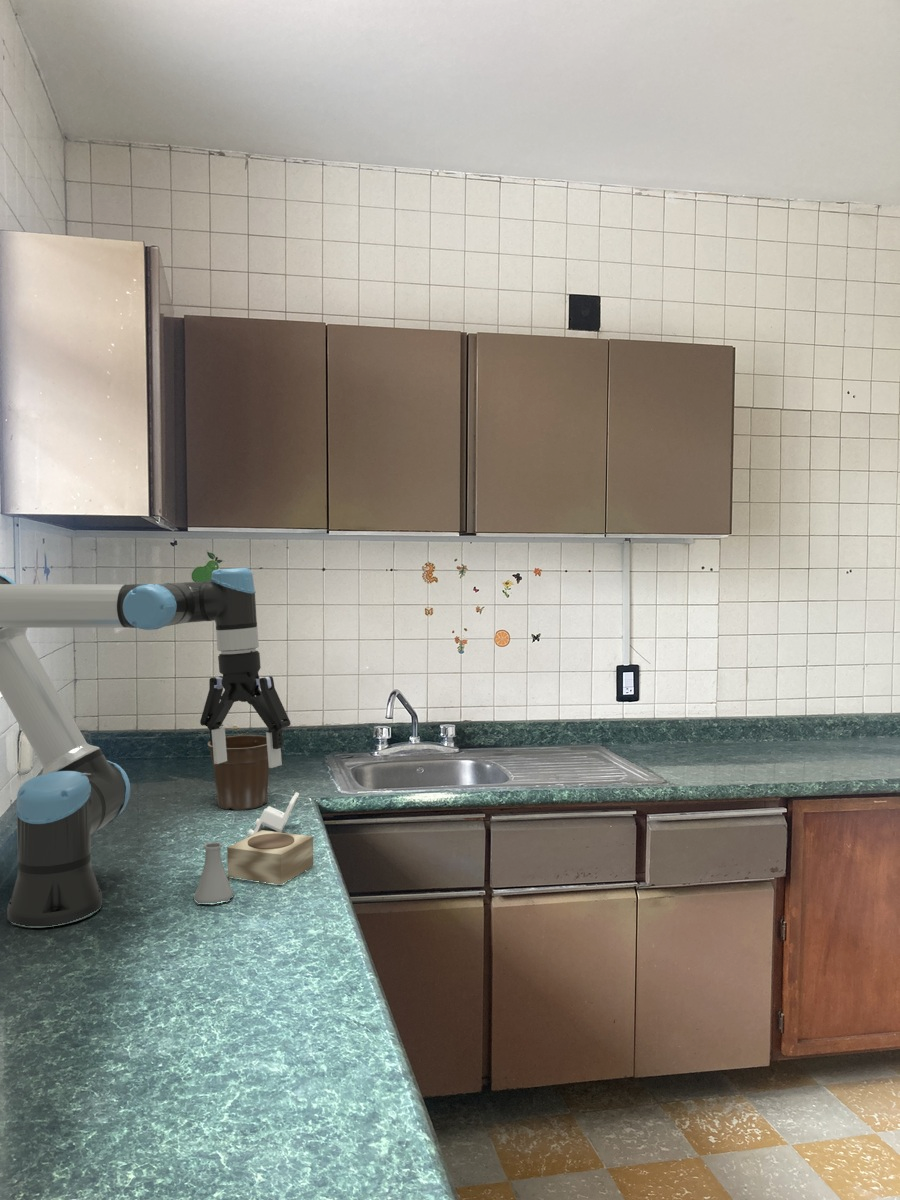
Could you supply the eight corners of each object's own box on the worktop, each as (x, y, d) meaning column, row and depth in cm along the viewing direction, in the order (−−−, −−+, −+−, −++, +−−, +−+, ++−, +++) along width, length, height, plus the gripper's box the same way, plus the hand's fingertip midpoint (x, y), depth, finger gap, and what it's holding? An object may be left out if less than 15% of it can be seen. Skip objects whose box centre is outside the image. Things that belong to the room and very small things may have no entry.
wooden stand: (227, 878, 173) (227, 845, 173) (262, 858, 184) (261, 828, 184) (281, 886, 169) (281, 853, 168) (313, 866, 180) (313, 835, 180)
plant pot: (225, 817, 214) (225, 750, 214) (197, 803, 227) (197, 740, 226) (286, 805, 225) (285, 741, 224) (256, 792, 237) (255, 732, 237)
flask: (192, 908, 158) (191, 852, 157) (193, 894, 165) (192, 840, 164) (234, 904, 160) (234, 849, 159) (233, 890, 167) (232, 837, 166)
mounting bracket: (271, 851, 195) (291, 806, 195) (244, 839, 195) (264, 795, 195) (280, 834, 207) (299, 792, 207) (255, 823, 207) (274, 781, 207)
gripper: (304, 648, 163) (312, 763, 164) (204, 649, 176) (213, 756, 176) (276, 652, 157) (285, 772, 157) (175, 654, 169) (184, 765, 170)
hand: (247, 764), depth 167 cm, fingers open, 13 cm apart
